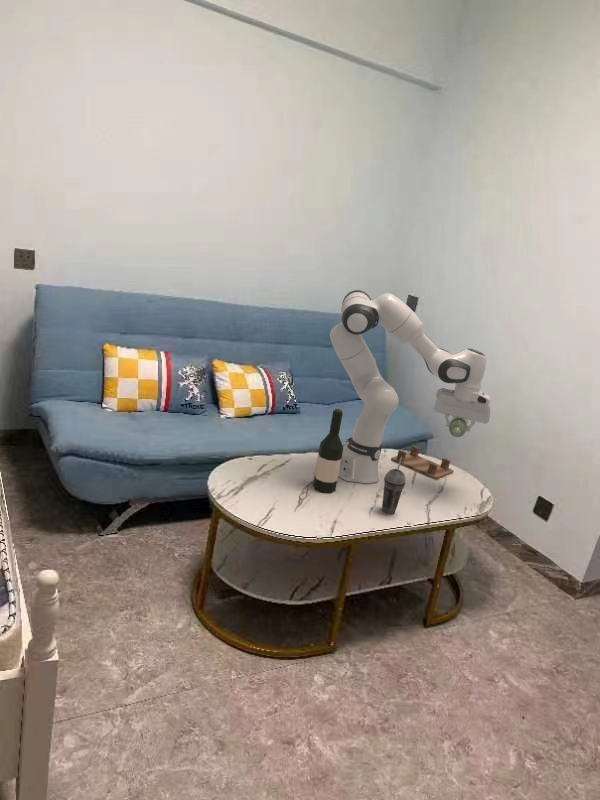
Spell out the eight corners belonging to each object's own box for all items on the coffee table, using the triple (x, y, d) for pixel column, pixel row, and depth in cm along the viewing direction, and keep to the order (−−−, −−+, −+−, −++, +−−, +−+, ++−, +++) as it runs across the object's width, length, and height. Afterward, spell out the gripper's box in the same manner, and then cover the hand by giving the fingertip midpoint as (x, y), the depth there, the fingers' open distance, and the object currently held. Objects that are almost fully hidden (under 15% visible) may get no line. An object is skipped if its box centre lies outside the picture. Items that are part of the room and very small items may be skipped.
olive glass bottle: (448, 422, 240) (444, 434, 224) (457, 410, 238) (454, 421, 222) (461, 431, 239) (458, 444, 224) (471, 419, 237) (468, 431, 221)
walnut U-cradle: (390, 460, 261) (393, 449, 260) (408, 454, 272) (410, 443, 270) (436, 480, 248) (439, 468, 246) (453, 473, 258) (455, 461, 257)
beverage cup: (374, 510, 212) (385, 456, 207) (383, 504, 218) (394, 451, 213) (392, 518, 209) (404, 464, 203) (402, 512, 215) (414, 458, 209)
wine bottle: (333, 495, 219) (348, 415, 211) (310, 490, 220) (324, 410, 212) (337, 486, 227) (351, 408, 219) (314, 481, 228) (328, 404, 220)
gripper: (437, 388, 227) (428, 424, 231) (494, 401, 222) (484, 437, 225) (438, 385, 233) (430, 419, 236) (494, 397, 227) (485, 432, 231)
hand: (457, 428), depth 231 cm, fingers closed on olive glass bottle, 6 cm apart
